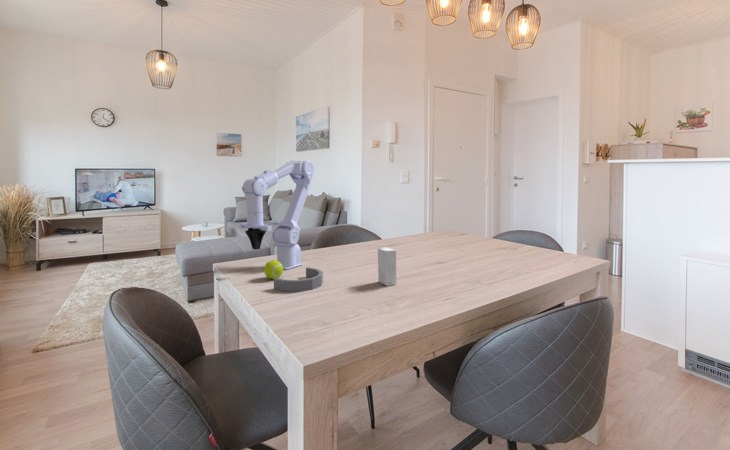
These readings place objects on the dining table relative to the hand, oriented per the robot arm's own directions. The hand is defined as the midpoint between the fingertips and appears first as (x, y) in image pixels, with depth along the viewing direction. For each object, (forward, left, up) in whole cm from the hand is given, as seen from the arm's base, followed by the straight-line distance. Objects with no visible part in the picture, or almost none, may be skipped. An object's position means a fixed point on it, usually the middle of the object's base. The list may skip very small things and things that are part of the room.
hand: (256, 248), depth 137 cm
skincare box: (-17, +46, -10) cm, 50 cm away
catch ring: (0, +23, -10) cm, 25 cm away
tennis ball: (0, +9, -10) cm, 13 cm away
